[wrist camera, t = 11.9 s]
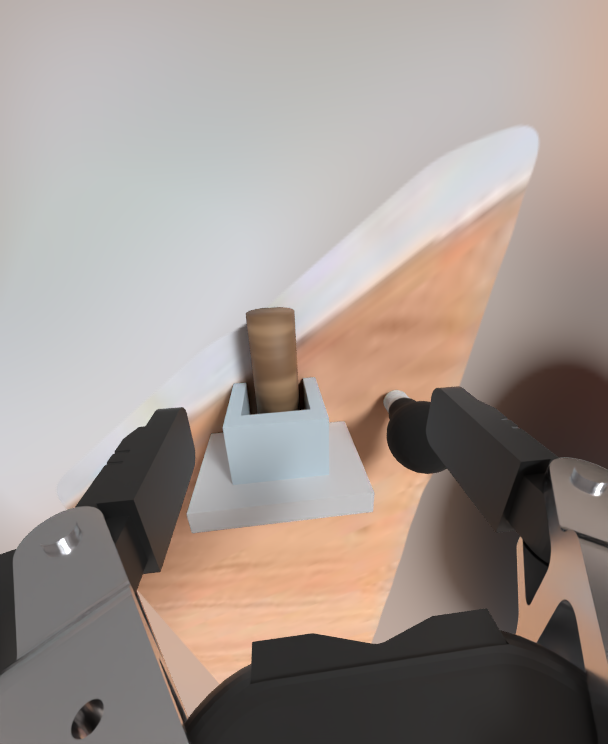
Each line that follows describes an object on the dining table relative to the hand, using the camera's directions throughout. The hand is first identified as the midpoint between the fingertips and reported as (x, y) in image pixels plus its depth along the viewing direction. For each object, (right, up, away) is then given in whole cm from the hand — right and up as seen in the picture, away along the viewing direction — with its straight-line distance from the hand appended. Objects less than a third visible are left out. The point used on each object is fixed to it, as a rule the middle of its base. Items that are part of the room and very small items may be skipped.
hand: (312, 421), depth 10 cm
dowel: (-3, +2, +19) cm, 19 cm away
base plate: (-3, -4, +22) cm, 22 cm away
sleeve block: (-3, -2, +20) cm, 21 cm away
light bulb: (+9, -1, +22) cm, 24 cm away
